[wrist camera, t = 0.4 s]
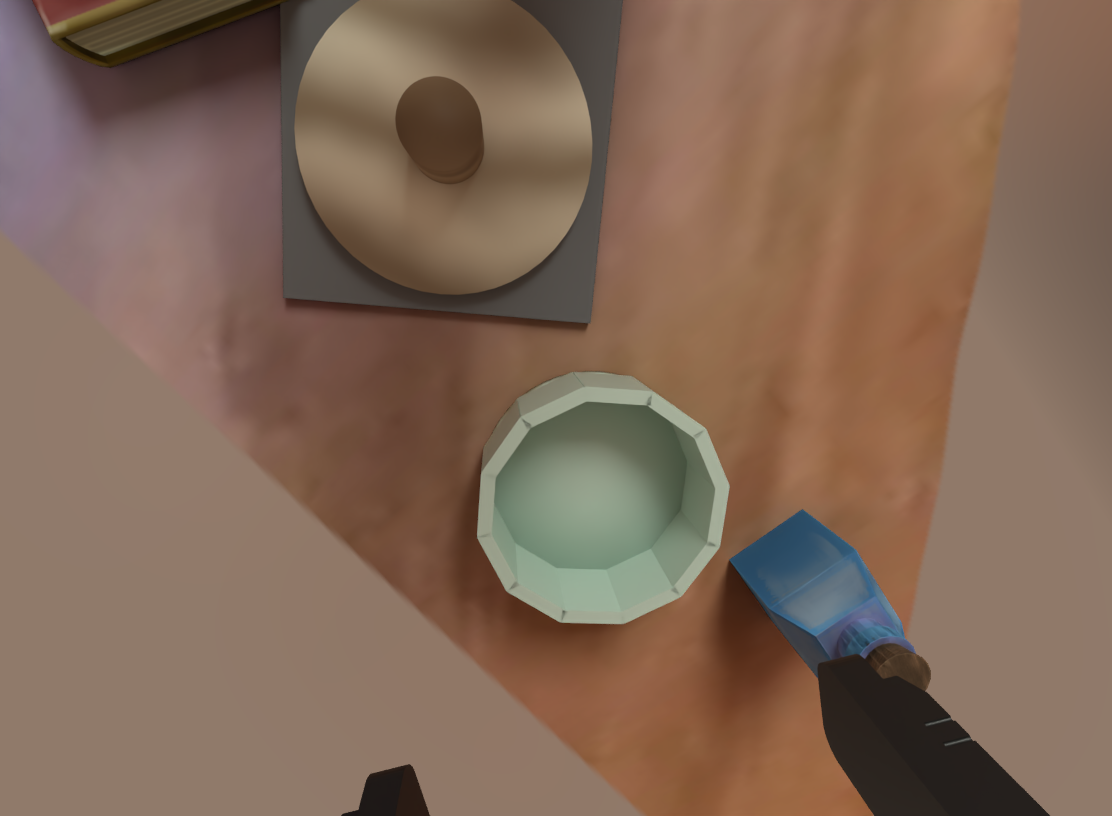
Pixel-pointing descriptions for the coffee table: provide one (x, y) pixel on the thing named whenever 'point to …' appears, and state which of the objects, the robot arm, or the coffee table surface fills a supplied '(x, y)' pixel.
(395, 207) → the lid
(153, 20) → the hardcover book
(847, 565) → the perfume bottle
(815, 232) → the coffee table surface
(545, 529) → the bowl
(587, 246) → the mat
